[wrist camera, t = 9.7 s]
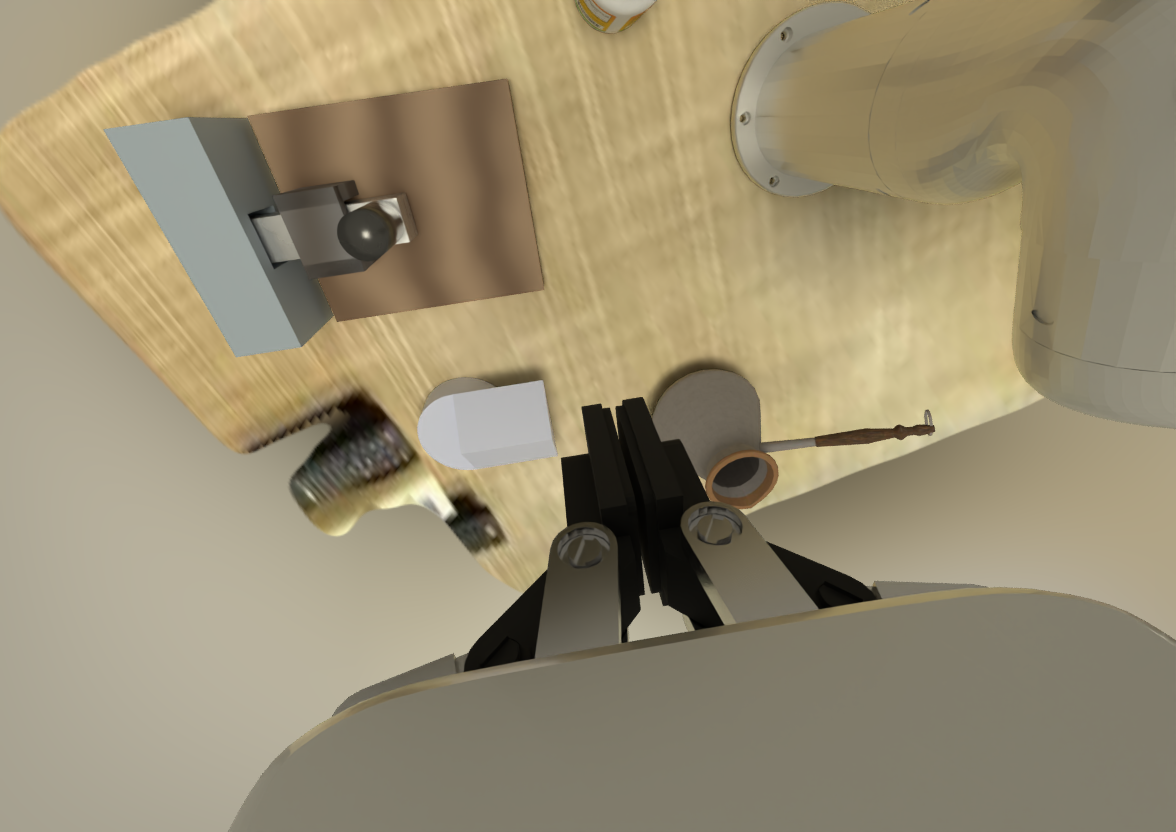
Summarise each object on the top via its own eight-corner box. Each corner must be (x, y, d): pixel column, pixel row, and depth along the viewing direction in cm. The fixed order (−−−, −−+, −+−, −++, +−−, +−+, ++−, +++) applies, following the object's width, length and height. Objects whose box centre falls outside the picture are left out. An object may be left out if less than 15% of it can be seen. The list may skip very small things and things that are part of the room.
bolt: (405, 192, 35) (377, 208, 29) (418, 234, 37) (394, 257, 30) (245, 216, 35) (181, 237, 29) (265, 256, 37) (208, 285, 30)
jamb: (247, 118, 34) (187, 117, 28) (333, 315, 42) (301, 347, 36) (177, 128, 34) (103, 129, 28) (277, 324, 42) (236, 357, 36)
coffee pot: (663, 462, 55) (704, 563, 42) (631, 384, 49) (666, 475, 36) (843, 392, 52) (943, 478, 40) (831, 301, 46) (945, 368, 34)
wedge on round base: (542, 364, 47) (412, 384, 46) (543, 397, 41) (395, 421, 41) (556, 437, 51) (438, 456, 51) (559, 476, 46) (427, 498, 45)
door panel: (508, 80, 34) (504, 72, 29) (543, 283, 42) (545, 306, 37) (261, 116, 34) (209, 115, 28) (344, 313, 42) (316, 342, 36)
